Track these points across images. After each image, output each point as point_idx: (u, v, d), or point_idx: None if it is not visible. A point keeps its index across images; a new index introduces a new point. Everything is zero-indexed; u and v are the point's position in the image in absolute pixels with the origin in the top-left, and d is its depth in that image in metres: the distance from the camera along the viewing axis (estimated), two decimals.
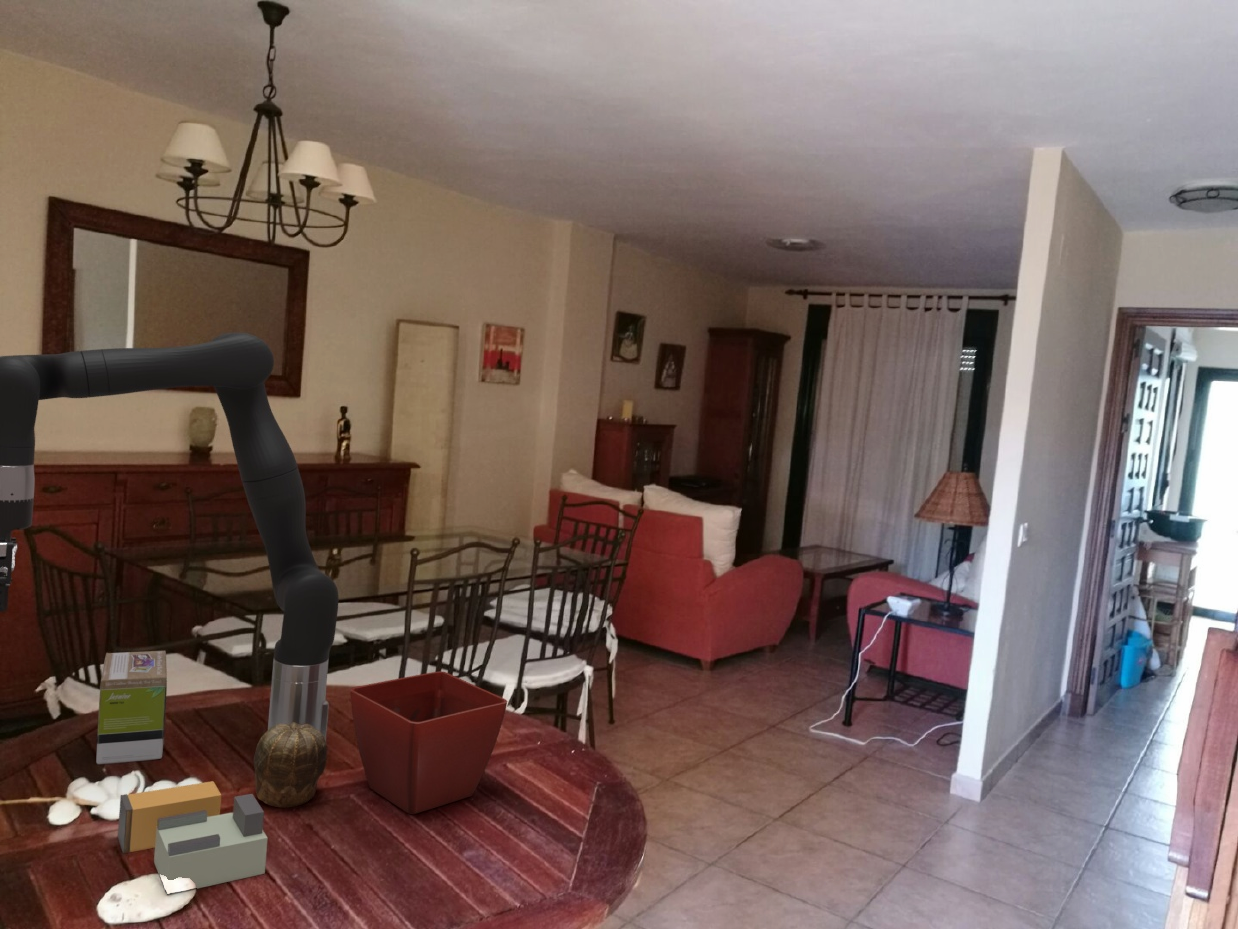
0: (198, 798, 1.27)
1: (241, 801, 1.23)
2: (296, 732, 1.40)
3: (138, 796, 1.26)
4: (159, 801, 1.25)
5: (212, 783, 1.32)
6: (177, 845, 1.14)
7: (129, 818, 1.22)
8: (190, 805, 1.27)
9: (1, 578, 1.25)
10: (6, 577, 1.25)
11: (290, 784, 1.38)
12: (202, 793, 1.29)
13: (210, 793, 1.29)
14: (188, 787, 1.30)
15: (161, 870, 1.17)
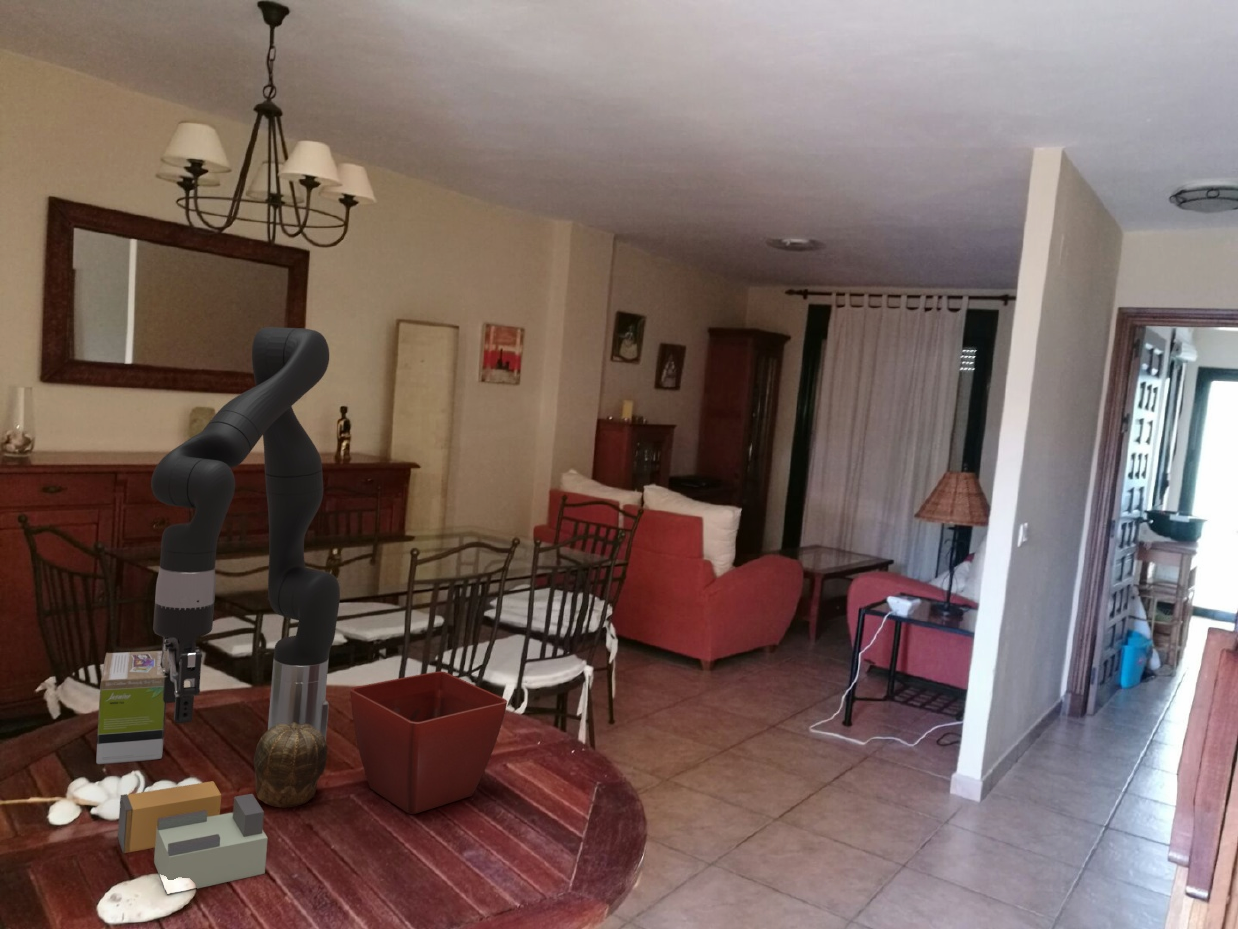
0: (198, 798, 1.27)
1: (241, 801, 1.23)
2: (296, 732, 1.40)
3: (138, 796, 1.26)
4: (159, 801, 1.25)
5: (212, 783, 1.32)
6: (177, 845, 1.14)
7: (129, 818, 1.22)
8: (190, 805, 1.27)
9: (190, 690, 1.21)
10: (195, 688, 1.21)
11: (290, 784, 1.38)
12: (202, 793, 1.29)
13: (210, 793, 1.29)
14: (188, 787, 1.30)
15: (161, 870, 1.17)
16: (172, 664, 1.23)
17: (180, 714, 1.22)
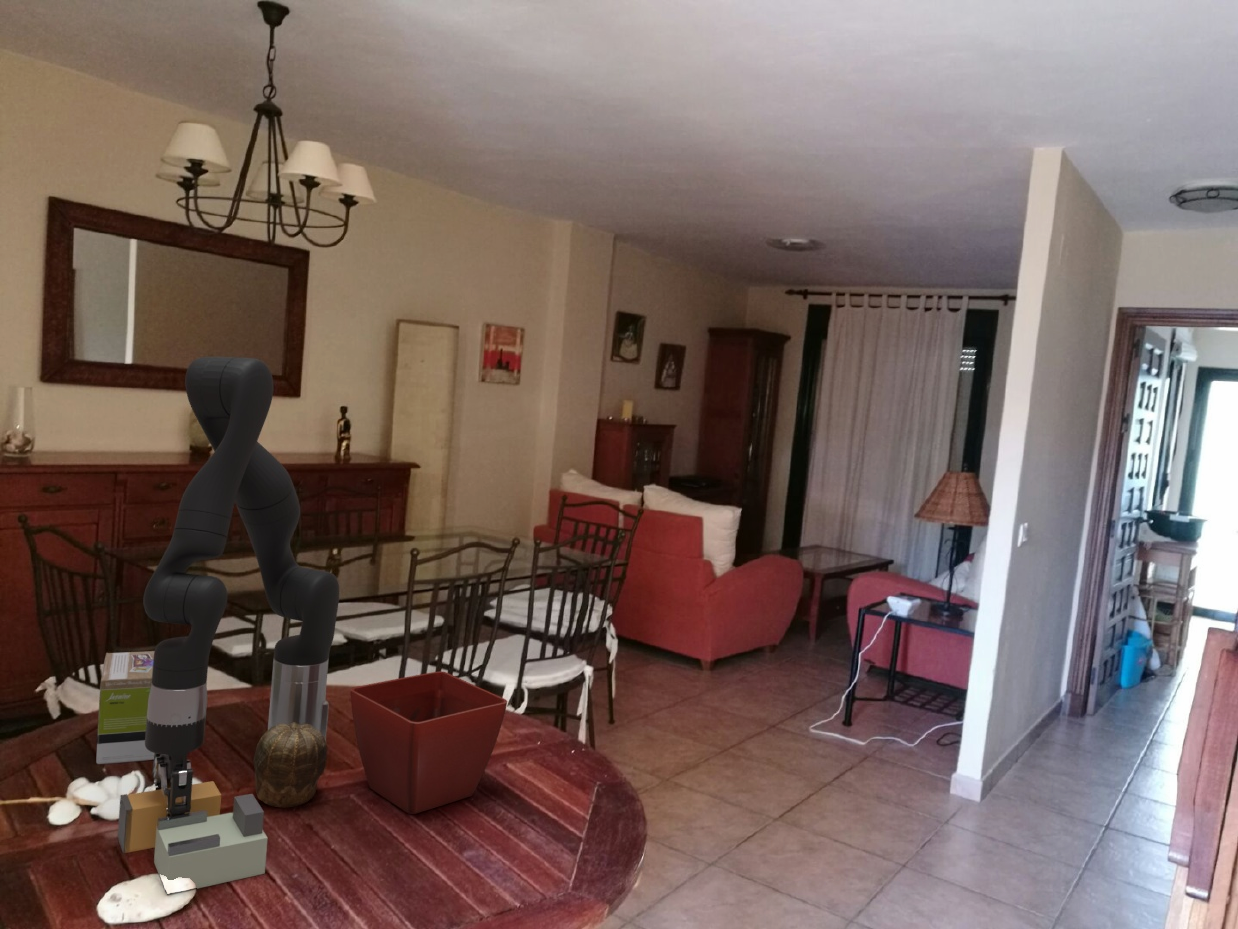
0: (198, 798, 1.27)
1: (241, 801, 1.23)
2: (296, 732, 1.40)
3: (138, 796, 1.26)
4: (159, 801, 1.25)
5: (212, 783, 1.32)
6: (177, 845, 1.14)
7: (129, 818, 1.22)
8: None
9: (181, 808, 1.22)
10: (186, 806, 1.22)
11: (290, 784, 1.38)
12: (202, 793, 1.29)
13: (210, 793, 1.29)
14: None
15: (161, 870, 1.17)
16: (163, 780, 1.24)
17: None
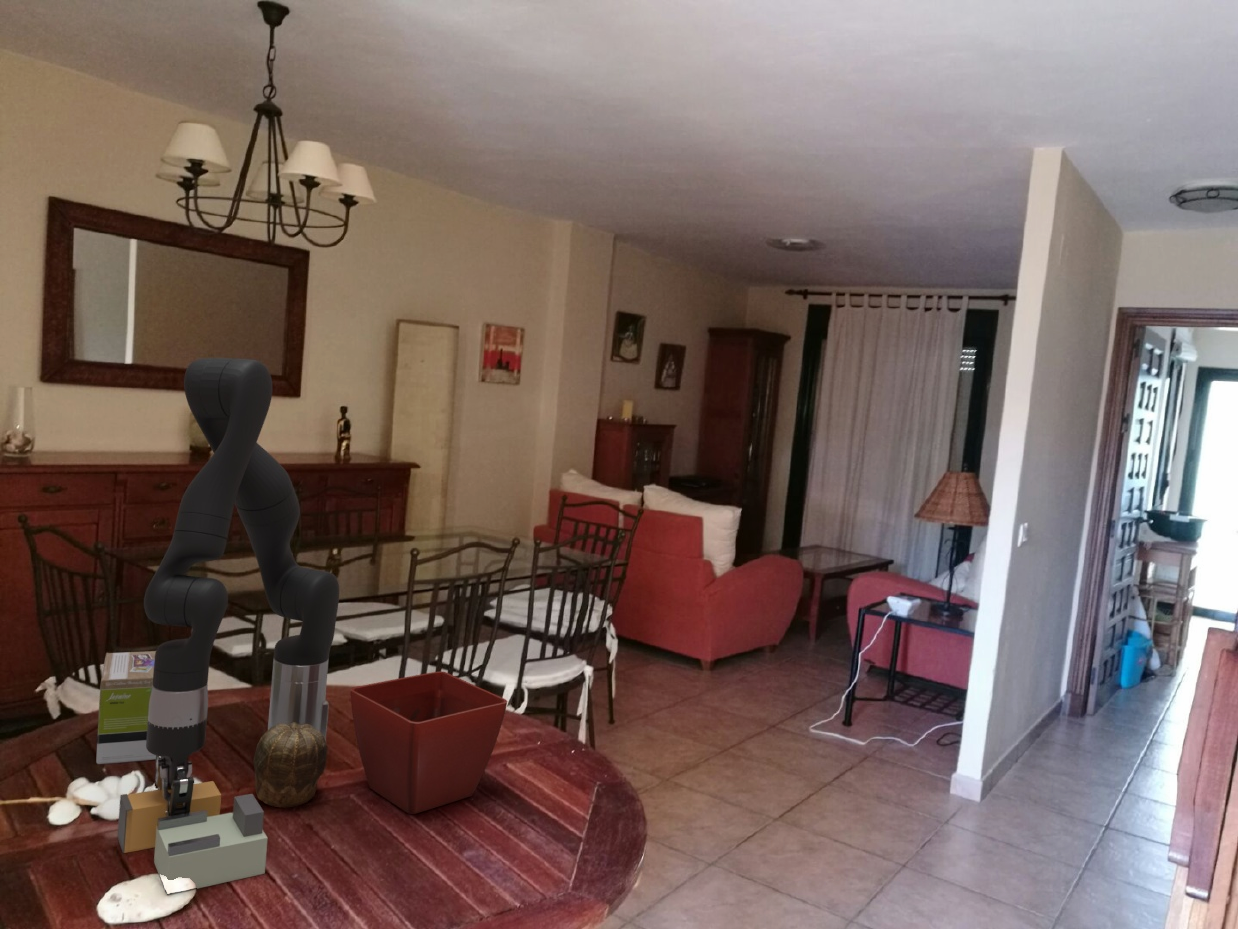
0: (198, 798, 1.27)
1: (241, 801, 1.23)
2: (296, 732, 1.40)
3: (138, 796, 1.26)
4: (159, 801, 1.25)
5: (212, 783, 1.32)
6: (177, 845, 1.14)
7: (129, 818, 1.22)
8: None
9: (180, 811, 1.23)
10: (185, 809, 1.23)
11: (290, 784, 1.38)
12: (202, 793, 1.29)
13: (210, 792, 1.29)
14: None
15: (161, 870, 1.17)
16: (164, 784, 1.24)
17: None
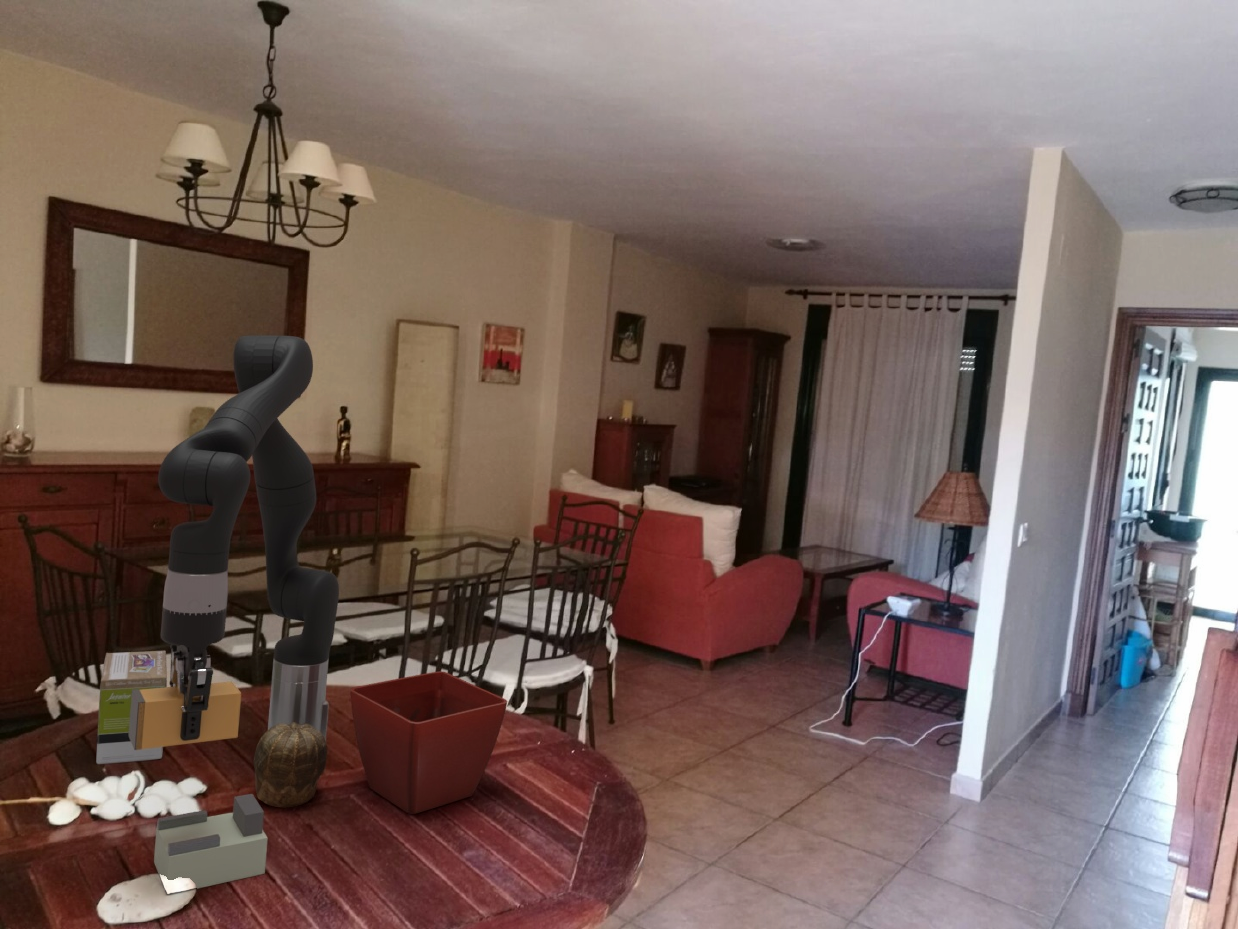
0: (216, 694, 1.17)
1: (241, 801, 1.23)
2: (296, 732, 1.40)
3: (151, 691, 1.15)
4: (174, 696, 1.15)
5: (231, 683, 1.21)
6: (177, 845, 1.14)
7: (141, 711, 1.11)
8: None
9: (198, 705, 1.12)
10: (203, 703, 1.13)
11: (290, 784, 1.38)
12: (221, 691, 1.18)
13: (229, 691, 1.19)
14: None
15: (161, 870, 1.17)
16: (180, 676, 1.14)
17: (187, 730, 1.14)
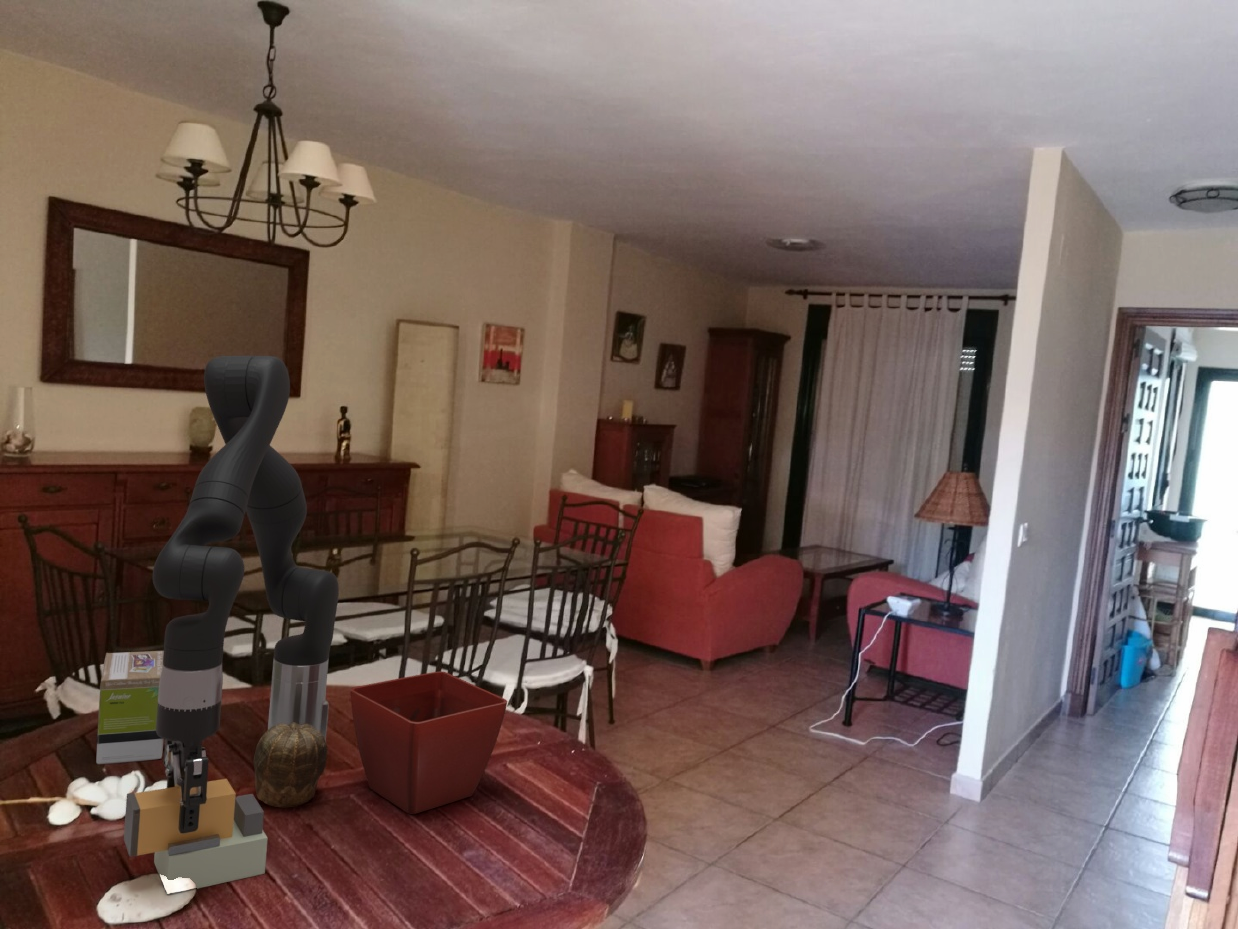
0: (211, 797, 1.18)
1: (241, 801, 1.23)
2: (296, 732, 1.40)
3: (146, 794, 1.16)
4: (169, 800, 1.16)
5: (226, 781, 1.22)
6: (177, 845, 1.14)
7: (136, 819, 1.12)
8: (202, 804, 1.17)
9: (196, 799, 1.12)
10: (201, 797, 1.12)
11: (290, 784, 1.38)
12: (215, 792, 1.19)
13: (224, 791, 1.20)
14: None
15: (161, 870, 1.17)
16: (176, 769, 1.14)
17: (185, 824, 1.13)
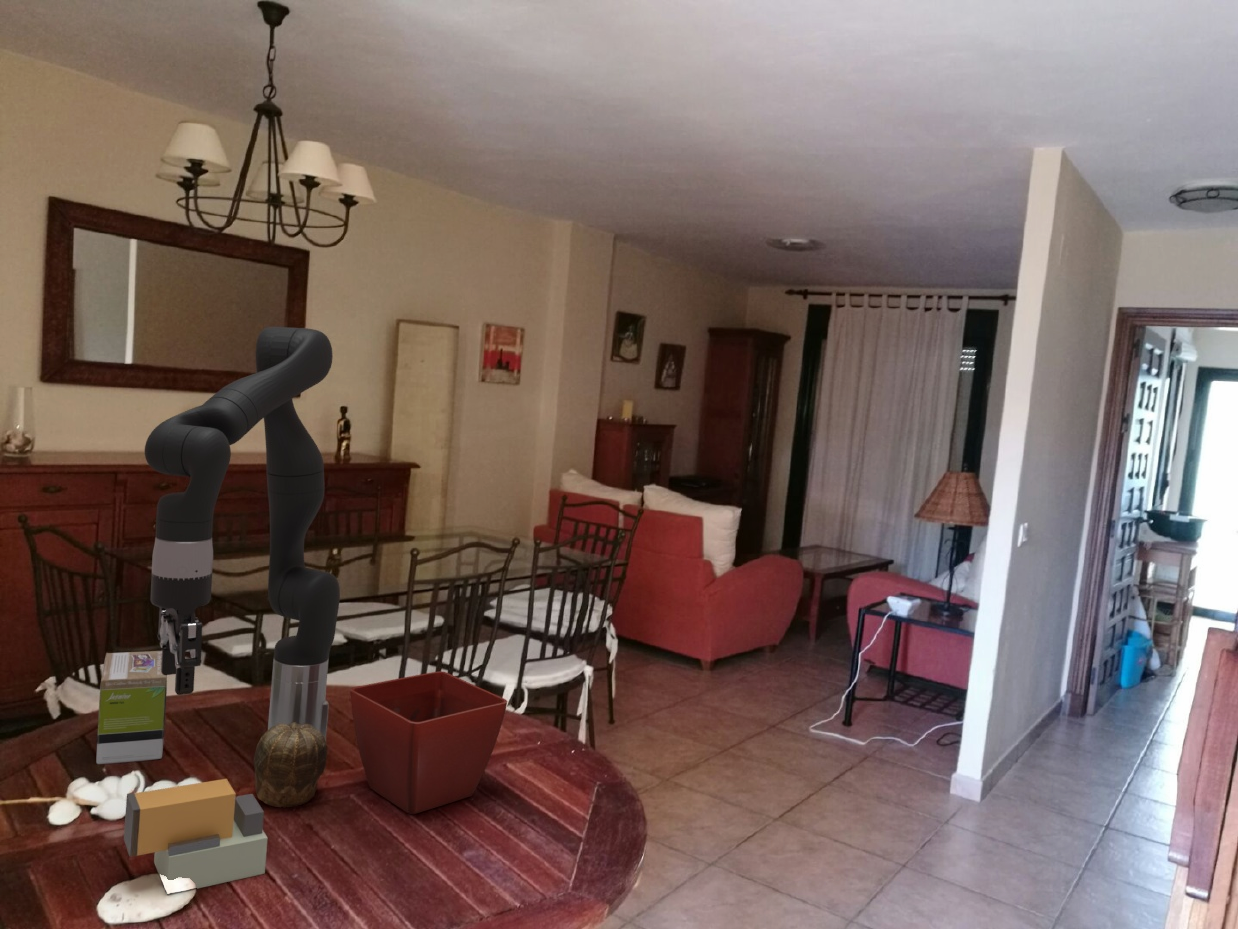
0: (211, 797, 1.18)
1: (241, 801, 1.23)
2: (296, 732, 1.40)
3: (146, 794, 1.16)
4: (169, 800, 1.16)
5: (226, 781, 1.22)
6: (177, 845, 1.14)
7: (136, 819, 1.12)
8: (202, 804, 1.17)
9: (191, 661, 1.19)
10: (196, 659, 1.19)
11: (290, 784, 1.38)
12: (215, 792, 1.19)
13: (224, 791, 1.20)
14: (199, 785, 1.20)
15: (161, 870, 1.17)
16: (171, 635, 1.21)
17: (181, 685, 1.20)
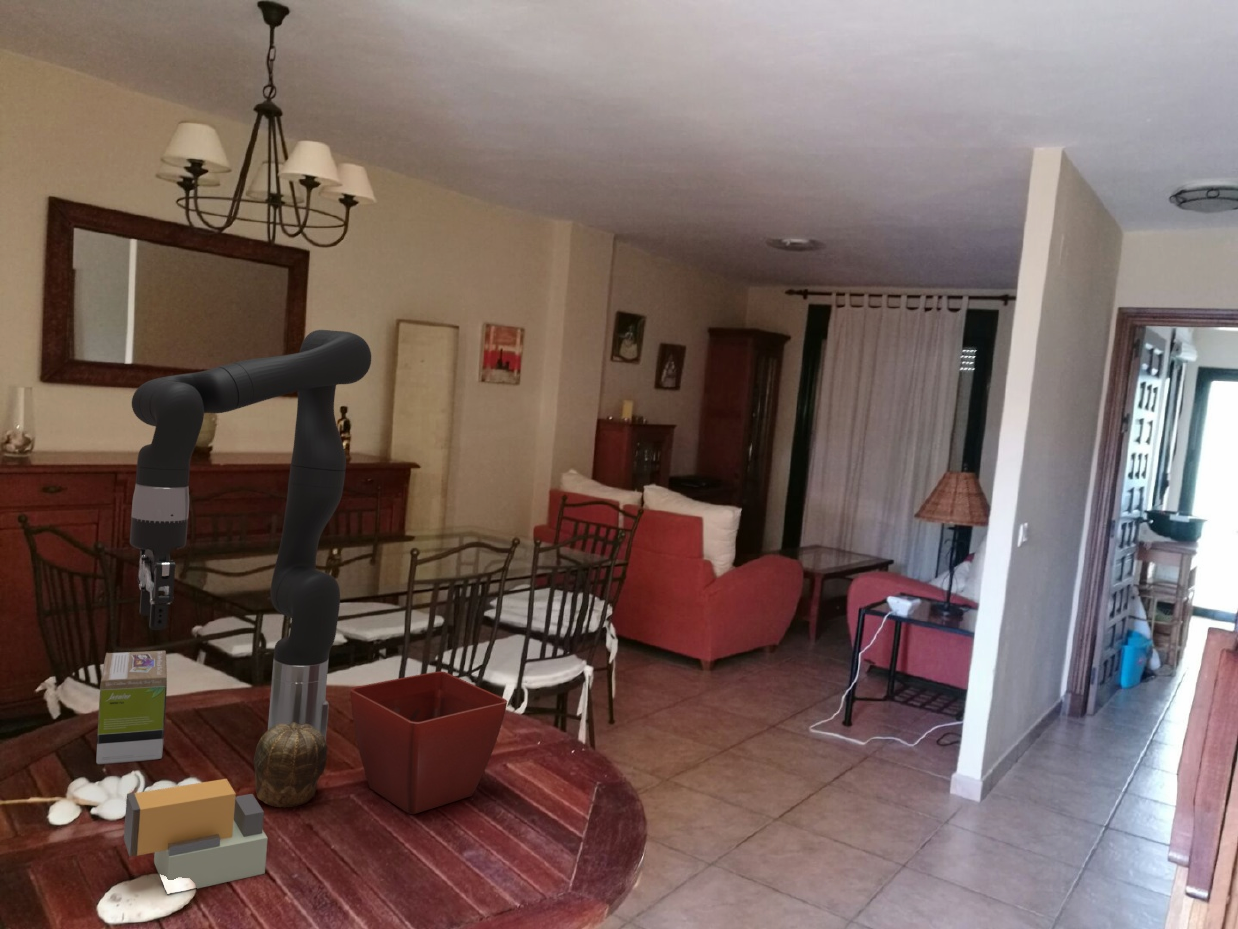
0: (211, 797, 1.18)
1: (241, 801, 1.23)
2: (296, 732, 1.40)
3: (146, 794, 1.16)
4: (169, 800, 1.16)
5: (226, 781, 1.22)
6: (177, 845, 1.14)
7: (136, 819, 1.12)
8: (202, 804, 1.17)
9: (164, 597, 1.28)
10: (169, 596, 1.29)
11: (290, 784, 1.38)
12: (215, 792, 1.19)
13: (224, 791, 1.20)
14: (199, 785, 1.20)
15: (161, 870, 1.17)
16: (147, 574, 1.30)
17: (155, 621, 1.29)
